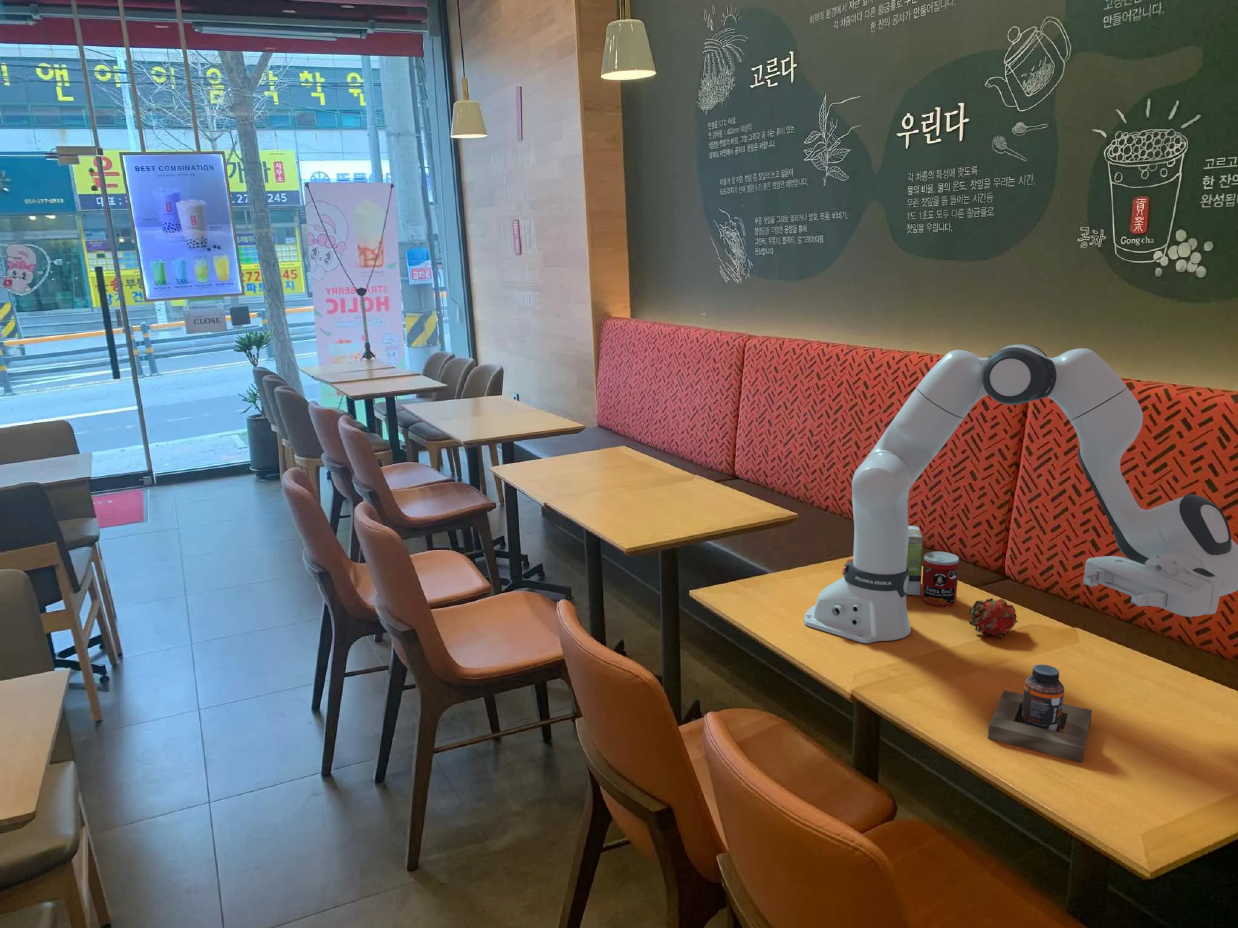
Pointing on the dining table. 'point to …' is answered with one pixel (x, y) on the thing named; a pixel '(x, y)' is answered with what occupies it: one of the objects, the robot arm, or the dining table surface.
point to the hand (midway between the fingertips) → (1110, 590)
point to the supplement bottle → (1043, 698)
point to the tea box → (914, 560)
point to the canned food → (940, 579)
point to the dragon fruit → (993, 617)
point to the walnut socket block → (1040, 729)
